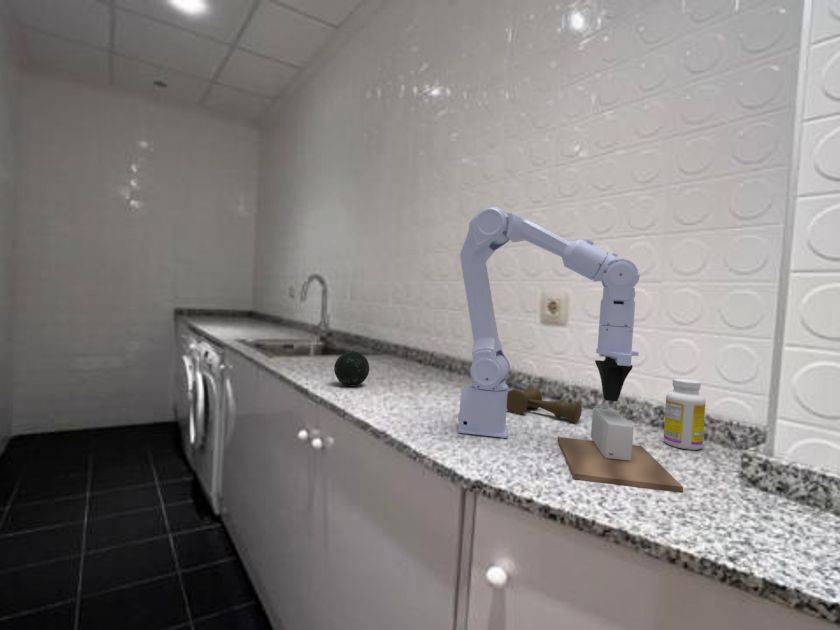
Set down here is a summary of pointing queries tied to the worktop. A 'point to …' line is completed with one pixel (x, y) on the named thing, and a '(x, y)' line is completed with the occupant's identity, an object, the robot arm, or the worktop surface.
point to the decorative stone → (351, 368)
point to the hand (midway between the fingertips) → (610, 400)
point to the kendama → (541, 404)
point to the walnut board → (616, 466)
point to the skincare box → (612, 434)
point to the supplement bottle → (684, 415)
